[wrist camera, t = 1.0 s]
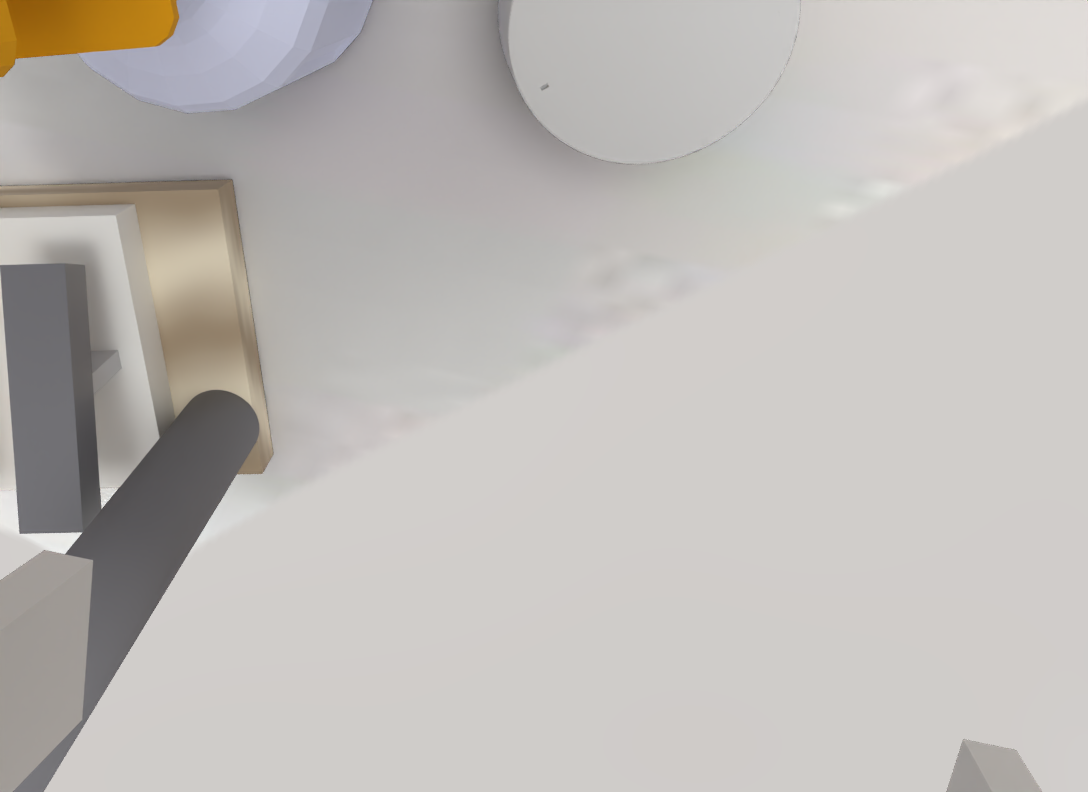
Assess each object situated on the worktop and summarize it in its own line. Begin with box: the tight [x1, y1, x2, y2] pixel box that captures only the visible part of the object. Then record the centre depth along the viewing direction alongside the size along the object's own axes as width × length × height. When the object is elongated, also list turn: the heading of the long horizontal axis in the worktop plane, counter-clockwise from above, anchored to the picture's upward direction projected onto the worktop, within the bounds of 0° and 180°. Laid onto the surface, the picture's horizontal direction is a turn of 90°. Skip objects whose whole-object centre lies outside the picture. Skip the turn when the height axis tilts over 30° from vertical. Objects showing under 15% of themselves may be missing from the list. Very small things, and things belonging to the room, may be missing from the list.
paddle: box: [0, 263, 101, 534], centre depth 38 cm, size 10×2×2 cm, turn 1°
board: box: [0, 180, 273, 474], centre depth 45 cm, size 13×22×2 cm, turn 92°
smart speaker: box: [498, 0, 801, 164], centre depth 34 cm, size 10×9×14 cm
